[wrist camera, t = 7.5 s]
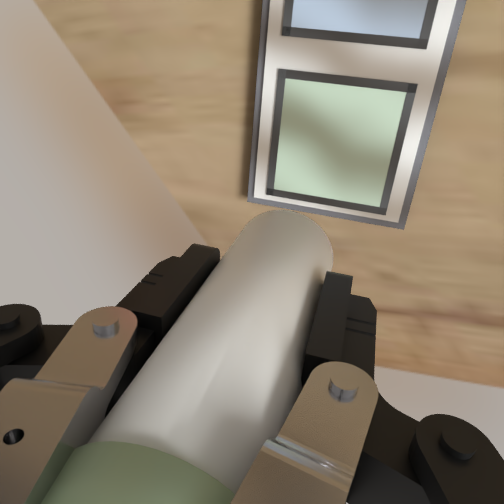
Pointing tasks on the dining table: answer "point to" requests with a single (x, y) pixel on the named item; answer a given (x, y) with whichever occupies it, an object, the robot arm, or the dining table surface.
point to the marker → (211, 378)
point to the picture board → (348, 103)
